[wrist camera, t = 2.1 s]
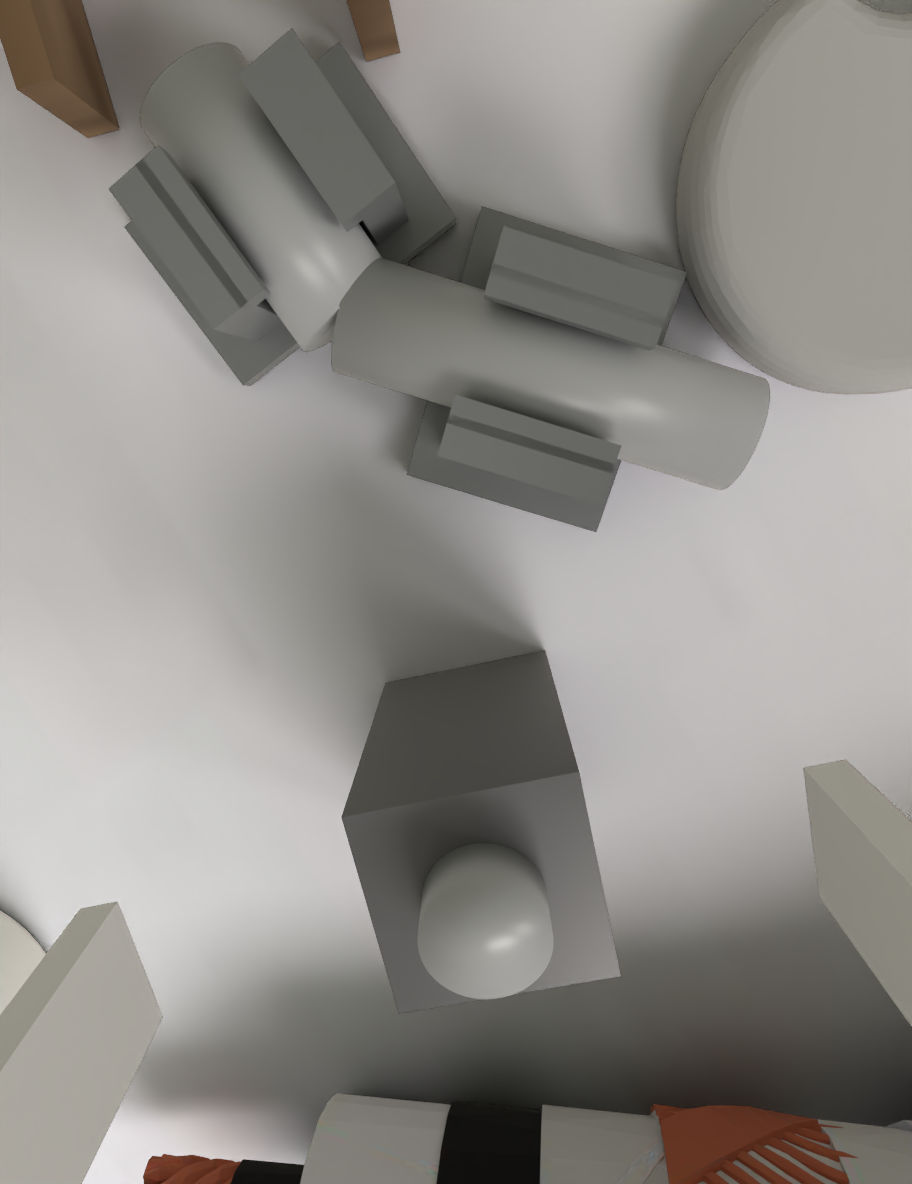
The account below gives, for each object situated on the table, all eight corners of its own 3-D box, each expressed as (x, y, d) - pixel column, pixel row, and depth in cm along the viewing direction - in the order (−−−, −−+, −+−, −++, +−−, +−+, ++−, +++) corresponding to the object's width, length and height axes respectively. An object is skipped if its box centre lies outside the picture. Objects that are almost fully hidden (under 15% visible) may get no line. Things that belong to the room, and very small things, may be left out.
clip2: (468, 242, 18) (466, 202, 14) (262, 402, 19) (214, 401, 15) (330, 33, 17) (292, -63, 13) (121, 214, 18) (36, 168, 15)
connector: (544, 650, 20) (588, 805, 12) (575, 795, 21) (633, 1024, 14) (385, 682, 21) (329, 854, 13) (423, 824, 22) (392, 1064, 14)
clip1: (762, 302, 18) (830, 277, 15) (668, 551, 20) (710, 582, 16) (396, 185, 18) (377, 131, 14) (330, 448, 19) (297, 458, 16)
